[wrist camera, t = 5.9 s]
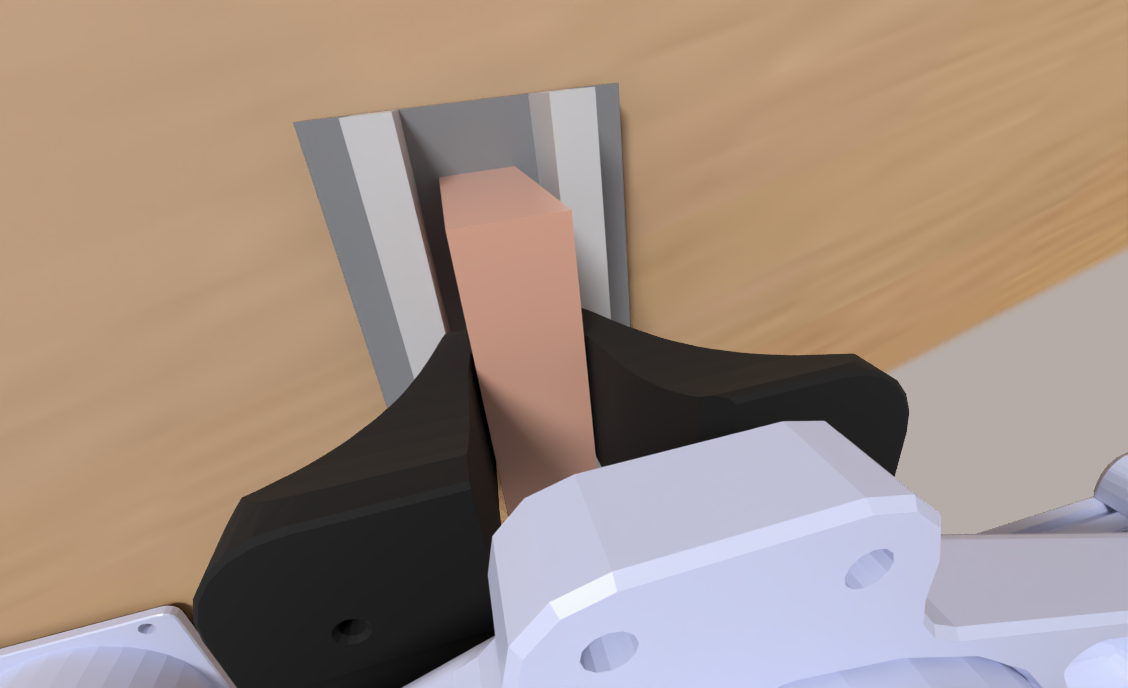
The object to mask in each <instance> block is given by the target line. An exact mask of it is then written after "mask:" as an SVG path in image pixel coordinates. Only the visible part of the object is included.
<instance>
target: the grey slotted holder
mask: <svg viewBox="0 0 1128 688" xmlns="http://www.w3.org/2000/svg"><path fill="white" fill-rule="evenodd" d="M293 124H294V127H295V130H296V133H297V136H298V139H299V142H300V145H301V148H302V151H303V154H304V157H305V160H306V163H307V166H308V169H309V172H310V175H311V178H312V181H313V184H314V187H315V190H316V193H317V196H318V199H319V202H320V205H321V208H322V211H323V214H324V217H325V220H326V224H327V227H328V230H329V233H330V236H331V239H332V242H333V245H334V248H335V251H336V254H337V257H338V260H339V263H340V266H341V269H342V272H343V275H344V278H345V281H346V284H347V287H348V290H349V293H350V296H351V299H352V302H353V305H354V308H355V311H356V314H357V317H358V320H359V323H360V327H361V330H362V333H363V336H364V339H365V342H366V345H367V348H368V351H369V354H370V357H371V360H372V363H373V366H374V369H375V372H376V375H377V378H378V381H379V384H380V387H381V390H382V393H383V396H384V399H385V402H386V405H387V408H389V407H390V406H391V405H392V404H393V403H394V402H395V401H396V400H397V399H398V398H399V397H400V396H401V395H402V394H403V393H404V391H405V390H406V389H407V388H408V387H409V385H410V384H411V383H412V382H413V380H414V379H415V378H416V377H417V376H418V374H419V373H420V372H421V370H422V369H423V367H424V366H425V364H426V363H427V361H428V360H429V358H430V357H431V355H432V354H433V352H434V350H435V349H436V347H437V345H438V344H439V342H440V340H441V339H442V337H443V336H444V335H445V333H450V332H455V331H460V330H465V329H467V326H466V321H465V317H464V312H463V308H462V303H461V299H460V294H459V290H458V285H457V281H456V276H455V271H454V267H453V262H452V258H451V253H450V249H449V244H448V240H447V235H446V230H445V222H444V214H443V206H442V198H441V190H440V182H439V177H444V176H451V175H458V174H464V173H471V172H478V171H485V170H492V169H499V168H506V167H512V166H515V167H517V168H518V169H519V170H520V171H522V172H523V173H524V174H526V175H527V176H528V177H530V178H531V179H532V180H533V181H535V182H536V183H537V184H539V185H540V186H541V187H542V188H544V189H545V190H546V191H548V192H549V193H550V194H551V195H553V196H554V197H555V198H557V199H558V200H559V201H561V202H562V203H563V204H564V205H566V206H567V207H568V208H570V209H571V210H572V220H573V230H574V240H575V250H576V261H577V271H578V281H579V291H580V301H581V308H584V309H587V310H589V311H592V312H594V313H597V314H599V315H602V316H604V317H606V318H609V319H611V320H613V321H616V322H618V323H621V324H623V325H626V326H628V327H630V309H629V288H628V268H627V248H626V227H625V207H624V186H623V166H622V145H621V125H620V104H619V84H618V83H610V84H601V85H593V86H584V87H576V88H568V89H560V90H552V91H543V92H535V93H527V94H519V95H511V96H502V97H494V98H486V99H478V100H470V101H461V102H453V103H445V104H437V105H429V106H420V107H412V108H404V109H396V110H388V111H379V112H371V113H363V114H355V115H347V116H339V117H330V118H322V119H314V120H306V121H299V122H293ZM596 464H597V468H601V465H600V463H599V461H598V459H597V458H596Z"/></svg>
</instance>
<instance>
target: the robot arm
mask: <svg viewBox="0 0 1128 688" xmlns="http://www.w3.org/2000/svg"><path fill="white" fill-rule="evenodd" d="M581 311H582V322H583V332H584V342H585V352H586V362H587V373H588V383H589V393H590V403H591V413H592V423H593V434H594V444H595V454H596V458H597V459H598V461H599V463H600V465H601V468H597V469H593V470H590V471H586V472H582V473H578V474H574V475H572V476H570V477H568V478H566V479H564V480H562V481H559V482H557V483H555V484H553V485H551V486H549V487H547V488H545V489H543V490H541V491H539V492H536V493H534V494H532V495H530V496H528V497H526V498H524V499H523V501H522V502H521V503H520V504H519V505H518V506H517V508H516V509H515V510H514V511H513V512H512V514H511V515H510V516H509V517H508V518H507V519H506V521H505V522H504V523H503V524H502V525H501V520H500V511H499V497H498V483H497V469H496V458H495V454H494V449H493V444H492V440H491V435H490V431H489V426H488V422H487V417H486V413H485V408H484V403H483V399H482V394H481V390H480V385H479V381H478V376H477V372H476V367H475V362H474V358H473V353H472V349H471V344H470V340H469V335H468V331H467V329H465V330H460V331H455V332H450V333H445V335H444V336H443V337H442V339H441V340H440V342H439V344H438V345H437V347H436V349H435V350H434V352H433V354H432V355H431V357H430V358H429V360H428V361H427V363H426V364H425V366H424V367H423V369H422V370H421V372H420V373H419V374H418V376H417V377H416V378H415V379H414V380H413V382H412V383H411V384H410V385H409V387H408V388H407V389H406V390H405V391H404V393H403V394H402V395H401V396H400V397H399V398H398V399H397V400H396V401H395V402H394V403H393V404H392V405H391V406H390V407H389V408H387V409H386V410H385V411H384V412H383V413H382V414H381V415H380V416H379V417H377V418H376V419H375V420H374V421H372V422H371V423H370V424H368V425H367V426H366V427H365V428H363V429H362V430H361V431H359V432H358V433H357V434H355V435H354V436H353V437H351V438H350V439H349V440H347V441H346V442H344V443H343V444H341V445H340V446H338V447H337V448H335V449H334V450H332V451H331V452H329V453H327V454H326V455H324V456H322V457H321V458H319V459H317V460H316V461H314V462H312V463H311V464H309V465H307V466H305V467H303V468H302V469H300V470H298V471H296V472H294V473H292V474H290V475H288V476H286V477H284V478H282V479H280V480H278V481H276V482H274V483H272V484H270V485H268V486H266V487H264V488H262V489H260V490H258V491H256V492H253V493H251V494H249V495H247V496H245V497H242V498H241V500H240V502H239V503H238V505H237V507H236V509H235V511H234V512H233V514H232V516H231V518H230V520H229V522H228V524H227V526H226V528H225V530H224V532H223V534H222V536H221V538H220V541H219V543H218V545H217V547H216V549H215V552H214V554H213V556H212V558H211V560H210V563H209V565H208V567H207V569H206V571H205V574H204V576H203V578H202V580H201V582H200V585H199V587H198V589H197V591H196V594H195V596H194V598H193V622H194V624H195V626H196V629H197V630H196V629H195V627H194V626H193V625H192V623H191V622H190V621H189V619H188V618H187V617H186V615H185V614H184V612H183V611H182V610H181V609H179V608H178V607H175V606H161V607H157V608H154V609H150V610H146V611H142V612H138V613H135V614H131V615H127V616H123V617H119V618H116V619H112V620H108V621H104V622H100V623H97V624H93V625H89V626H85V627H81V628H77V629H74V630H70V631H66V632H62V633H58V634H55V635H51V636H47V637H43V638H39V639H36V640H32V641H28V642H24V643H20V644H17V645H13V646H9V647H5V648H1V649H0V688H1128V453H1125V454H1123V455H1121V456H1119V457H1117V458H1116V459H1115V460H1113V461H1112V462H1111V463H1110V464H1109V465H1108V466H1107V467H1106V468H1105V470H1104V471H1103V473H1102V474H1101V476H1100V478H1099V479H1098V481H1097V484H1096V486H1095V489H1094V496H1093V497H1090V498H1087V499H1084V500H1081V501H1078V502H1075V503H1072V504H1068V505H1065V506H1062V507H1059V508H1056V509H1053V510H1049V511H1046V512H1043V513H1040V514H1037V515H1034V516H1031V517H1028V518H1024V519H1021V520H1018V521H1015V522H1012V523H1009V524H1006V525H1003V526H999V527H996V528H993V529H990V530H987V531H984V532H981V533H977V534H944V535H943V534H942V535H941V515H940V514H939V513H938V512H937V511H936V510H935V509H933V508H932V507H930V505H928V504H927V503H926V502H925V501H923V500H922V499H921V498H920V497H919V496H917V495H916V494H915V493H914V492H912V491H911V490H910V489H909V488H907V487H906V486H905V485H904V484H902V483H901V482H900V481H899V480H898V479H896V478H895V477H894V476H895V473H896V469H897V466H898V462H899V458H900V454H901V451H902V447H903V443H904V439H905V436H906V432H907V424H908V417H909V408H908V402H907V397H906V393H905V392H904V390H903V389H902V387H901V385H900V384H899V382H898V381H897V380H895V379H894V378H892V377H891V376H889V375H887V374H886V373H884V372H883V371H881V370H880V369H878V368H876V367H875V366H873V365H872V364H870V363H868V362H867V361H865V360H864V359H862V358H860V357H859V356H857V355H855V354H827V355H766V354H750V353H739V352H731V351H723V350H715V349H709V348H703V347H697V346H693V345H688V344H684V343H679V342H675V341H671V340H667V339H664V338H660V337H657V336H654V335H651V334H648V333H645V332H642V331H639V330H636V329H634V328H631V327H628V326H626V325H623V324H621V323H618V322H616V321H613V320H611V319H609V318H606V317H604V316H602V315H599V314H597V313H594V312H592V311H589V310H587V309H584V308H581ZM197 631H198V632H197Z"/></svg>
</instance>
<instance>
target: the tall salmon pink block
mask: <svg viewBox="0 0 1128 688" xmlns="http://www.w3.org/2000/svg"><path fill="white" fill-rule="evenodd" d="M439 182H440V190H441V198H442V206H443V214H444V222H445V230H446V235H447V240H448V244H449V249H450V253H451V258H452V262H453V267H454V271H455V276H456V281H457V285H458V290H459V294H460V299H461V303H462V308H463V312H464V317H465V321H466V326H467V331H468V335H469V340H470V344H471V349H472V353H473V358H474V362H475V367H476V372H477V376H478V381H479V385H480V390H481V394H482V399H483V403H484V408H485V413H486V417H487V422H488V426H489V431H490V435H491V440H492V444H493V449H494V454H495V458H496V463H497V467H498V472H499V476H500V481H501V485H502V490H503V495H504V499H505V504H506V508H507V513H508V517H509V516H510V515H511V514H512V512H513V511H514V510H515V509H516V508H517V506H518V505H519V504H520V503H521V502H522V501H523V499H524V498H526V497H528V496H530V495H532V494H534V493H536V492H539V491H541V490H543V489H545V488H547V487H549V486H551V485H553V484H555V483H557V482H559V481H562V480H564V479H566V478H568V477H570V476H572V475H574V474H578V473H582V472H586V471H590V470H593V469H597V464H596V454H595V444H594V434H593V423H592V413H591V403H590V393H589V383H588V373H587V362H586V352H585V342H584V332H583V322H582V311H581V301H580V291H579V281H578V271H577V261H576V250H575V240H574V230H573V220H572V210H571V209H570V208H568V207H567V206H566V205H564V204H563V203H562V202H561V201H559V200H558V199H557V198H555V197H554V196H553V195H551V194H550V193H549V192H548V191H546V190H545V189H544V188H542V187H541V186H540V185H539V184H537V183H536V182H535V181H533V180H532V179H531V178H530V177H528V176H527V175H526V174H524V173H523V172H522V171H520V170H519V169H518V168H517V167H515V166H512V167H506V168H499V169H492V170H485V171H478V172H471V173H464V174H458V175H451V176H444V177H439Z"/></svg>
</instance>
